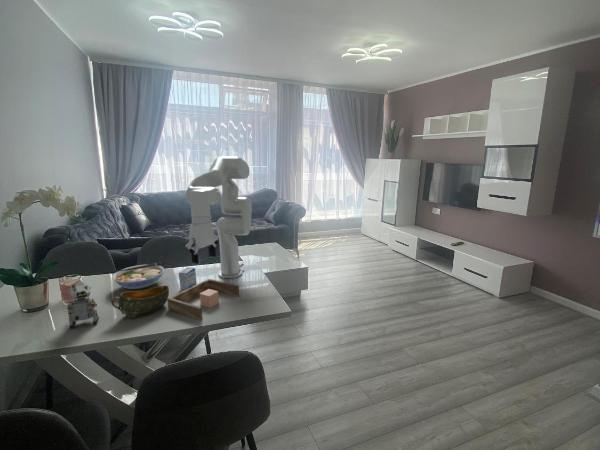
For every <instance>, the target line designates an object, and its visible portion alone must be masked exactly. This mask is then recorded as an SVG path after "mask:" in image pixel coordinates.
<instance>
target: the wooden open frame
mask: <svg viewBox="0 0 600 450" xmlns="http://www.w3.org/2000/svg"><path fill="white" fill-rule="evenodd" d="M208 289H211V290H215V291H218V293H221V294H224V293H225V294H226V295H228V294H229V296H232V297H237V298H238V297H240V285H238V284H234V283H229V282H224V281H222V280H221V281H220V280H218V279H212V278H208V279H205V280H203V281H202V282H199V283H196V284H195V285H194V286H193V287H191V288H189V289H186V290H184V289H183V290H182V291H181V292H179V293H177V294H174V295H171V296H170V297H168V299H167V301H166V303H167V309H168V311H171V312H174V313H177V314H180V315H183V316H185V317H190V318H192V319H195V320H199V321H201V320H203V306H200V305H199V306H198V305H195V304H193V303H188V302H189V301H191V300H192V299H195V298H196V297H198V296H199V297H200V293H202V292H204V291H206V290H208Z"/></svg>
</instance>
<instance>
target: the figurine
mask: <svg viewBox="0 0 600 450" xmlns="http://www.w3.org/2000/svg"><path fill="white" fill-rule="evenodd" d="M91 288H92V287H91V286H90V285H88V284H86V283H85V282H76V283H75V284H72V286H71V288H70V296H71V297H72V298H73V300H74V301H71V302H69V303H68V305H67V306H66V307H67V308H66V309H67V315H68V324H69V326H68V328H69V329H70V330H71V329H74V328H75V326H76V324H77V322H79V321H84V320H85V321H86V320H89V319H92V320H93V321H92V324H93V325H97V324H98V321H99V319H100V317H99V316H98V310H97V309H96V308H97V307H98V303H96V301H95V300H94V298H89V296H90V295H91Z"/></svg>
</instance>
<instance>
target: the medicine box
mask: <svg viewBox="0 0 600 450" xmlns="http://www.w3.org/2000/svg"><path fill="white" fill-rule="evenodd" d="M178 281H179V288H180V290H183V291H184V290H186V289H189V288H191V287H193V286H195V285H197V273H196V267H191V266H190V267H189V266H187V267H186V268H184V269H182V270H181V271H180V272H179V273H178Z"/></svg>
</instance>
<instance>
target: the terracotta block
mask: <svg viewBox="0 0 600 450" xmlns="http://www.w3.org/2000/svg"><path fill="white" fill-rule="evenodd" d="M199 301H200V302H199V303H200V304H199V305H200V306H201V307H205V308H209V309H211V308H213V307H214V306H216V305H217V303H218V304H219V303H220V295H219V292H218V291H215V290H211V289H208V290H206V291H204V292H202V293H200V295H199Z"/></svg>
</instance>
